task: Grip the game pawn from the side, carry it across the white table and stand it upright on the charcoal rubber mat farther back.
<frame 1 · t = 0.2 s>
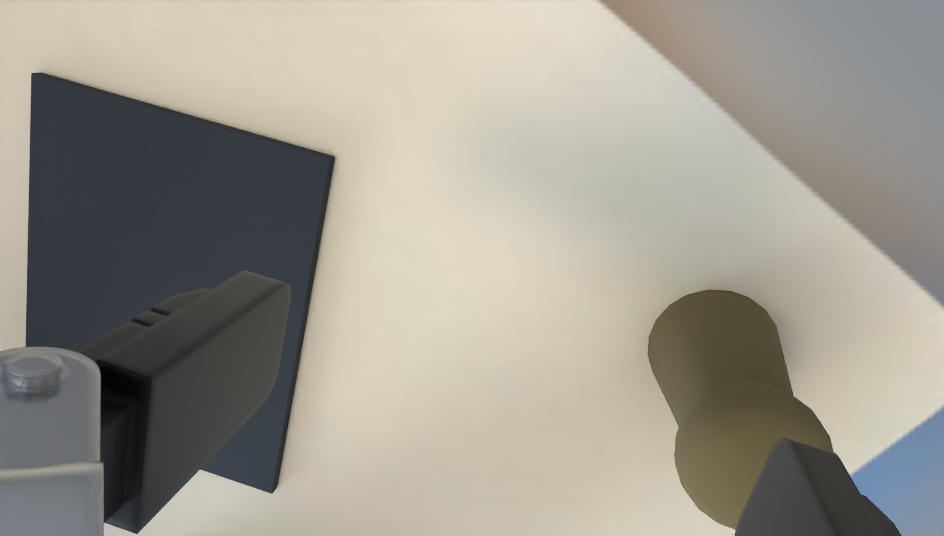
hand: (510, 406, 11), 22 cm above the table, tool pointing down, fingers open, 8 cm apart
rubber mat: (166, 294, 37), on the table
game pawn: (712, 347, 33), on the table
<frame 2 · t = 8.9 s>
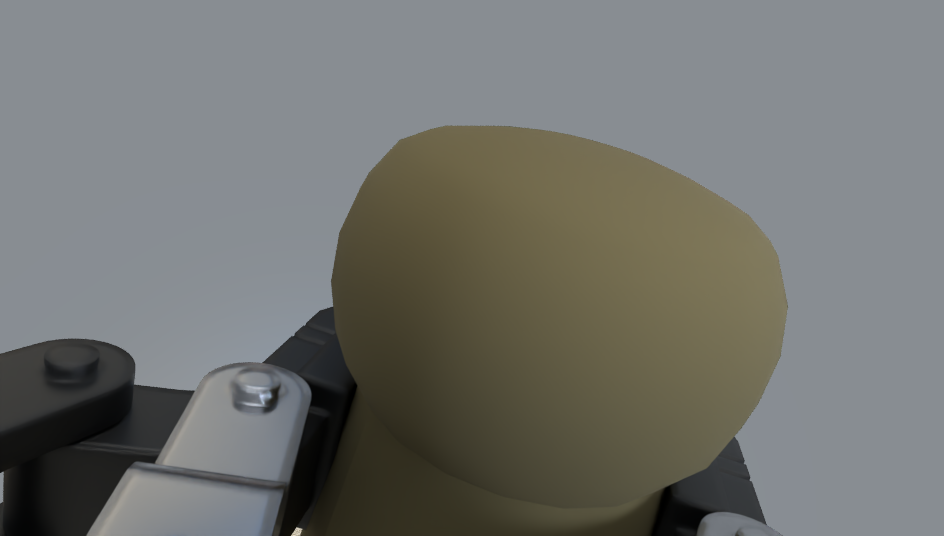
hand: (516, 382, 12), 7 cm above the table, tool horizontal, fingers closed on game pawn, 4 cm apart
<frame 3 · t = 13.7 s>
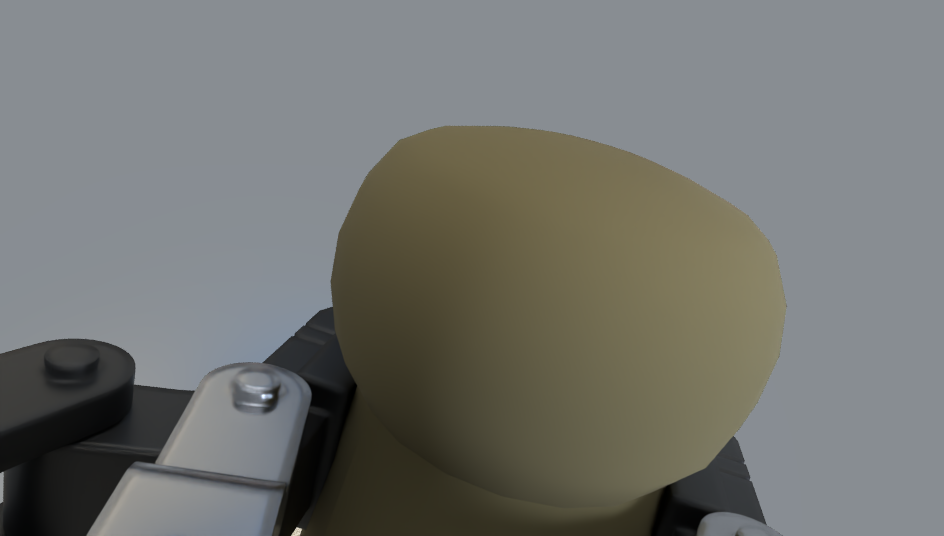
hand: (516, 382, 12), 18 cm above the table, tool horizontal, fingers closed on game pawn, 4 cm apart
when the fingers open (7 cm above the table, at t = 18.5 s): game pawn stays where it is, resting on rubber mat.
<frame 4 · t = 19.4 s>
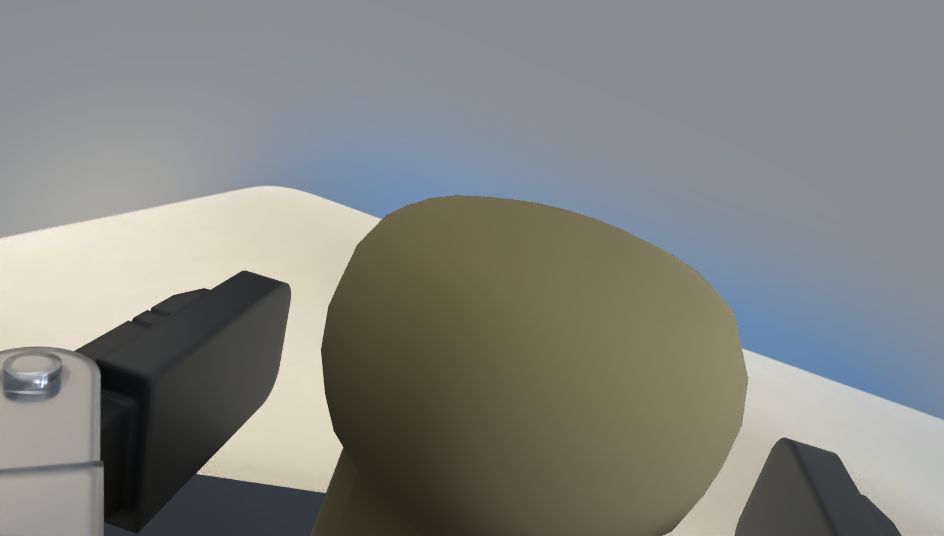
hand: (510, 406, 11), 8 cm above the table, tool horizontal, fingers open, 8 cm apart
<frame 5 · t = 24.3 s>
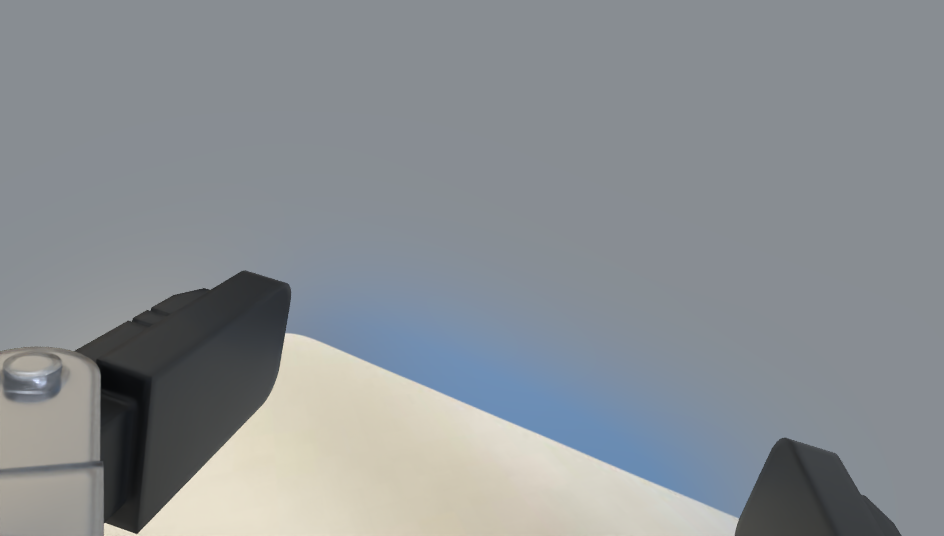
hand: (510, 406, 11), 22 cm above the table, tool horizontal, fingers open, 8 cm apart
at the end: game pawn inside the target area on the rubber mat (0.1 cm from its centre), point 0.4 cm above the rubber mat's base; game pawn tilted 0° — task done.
